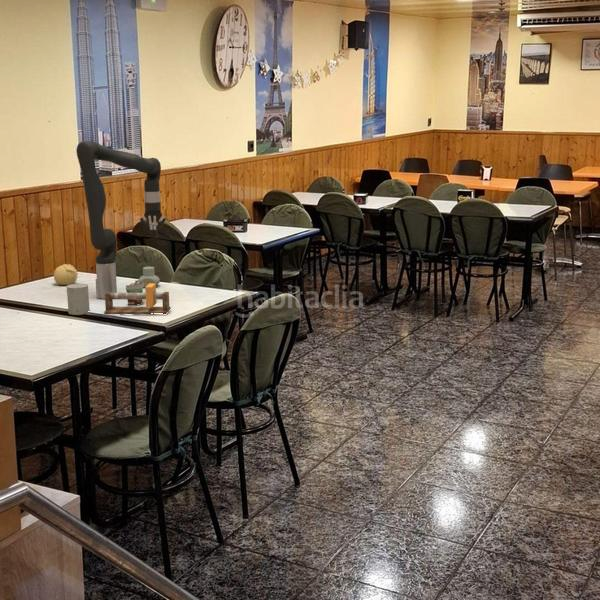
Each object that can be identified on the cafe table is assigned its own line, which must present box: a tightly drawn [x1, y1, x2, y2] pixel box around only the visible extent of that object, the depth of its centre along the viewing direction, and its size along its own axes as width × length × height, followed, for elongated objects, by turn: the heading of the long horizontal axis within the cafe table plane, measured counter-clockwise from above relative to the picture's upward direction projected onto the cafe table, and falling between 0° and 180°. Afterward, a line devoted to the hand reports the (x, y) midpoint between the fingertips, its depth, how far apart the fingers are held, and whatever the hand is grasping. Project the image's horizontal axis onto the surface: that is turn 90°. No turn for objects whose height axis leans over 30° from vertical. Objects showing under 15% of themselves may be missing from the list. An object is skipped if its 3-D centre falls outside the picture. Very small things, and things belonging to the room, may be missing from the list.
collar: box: [144, 284, 157, 307], centre depth 387 cm, size 3×8×9 cm, turn 177°
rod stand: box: [103, 291, 172, 314], centre depth 388 cm, size 28×10×9 cm, turn 87°
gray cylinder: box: [65, 283, 91, 316], centre depth 389 cm, size 10×10×12 cm
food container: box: [125, 279, 145, 306], centre depth 405 cm, size 12×6×10 cm, turn 168°
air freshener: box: [138, 266, 161, 288], centre depth 442 cm, size 11×8×10 cm
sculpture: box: [53, 263, 78, 286], centre depth 449 cm, size 11×12×11 cm
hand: (154, 237), depth 409 cm, fingers closed
